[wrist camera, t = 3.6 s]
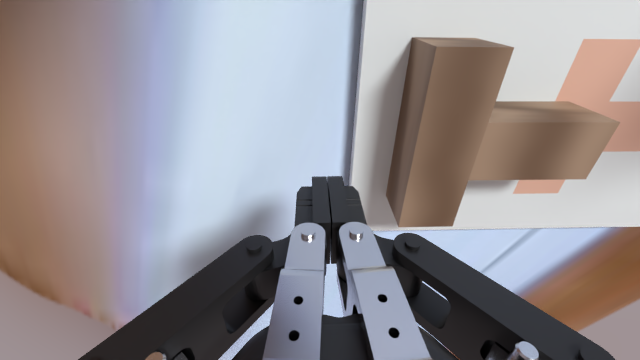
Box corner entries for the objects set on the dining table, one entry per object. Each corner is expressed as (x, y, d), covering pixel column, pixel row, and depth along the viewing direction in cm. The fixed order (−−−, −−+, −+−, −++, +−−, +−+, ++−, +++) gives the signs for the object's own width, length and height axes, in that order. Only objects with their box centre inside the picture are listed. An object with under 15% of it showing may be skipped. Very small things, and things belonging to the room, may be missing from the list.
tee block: (385, 195, 24) (398, 227, 21) (412, 37, 18) (436, 46, 14) (524, 193, 25) (558, 224, 21) (598, 39, 18) (665, 48, 15)
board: (345, 222, 27) (347, 231, 26) (366, -43, 16) (370, -46, 15) (628, 218, 28) (640, 226, 27) (821, -34, 18) (852, -36, 17)
